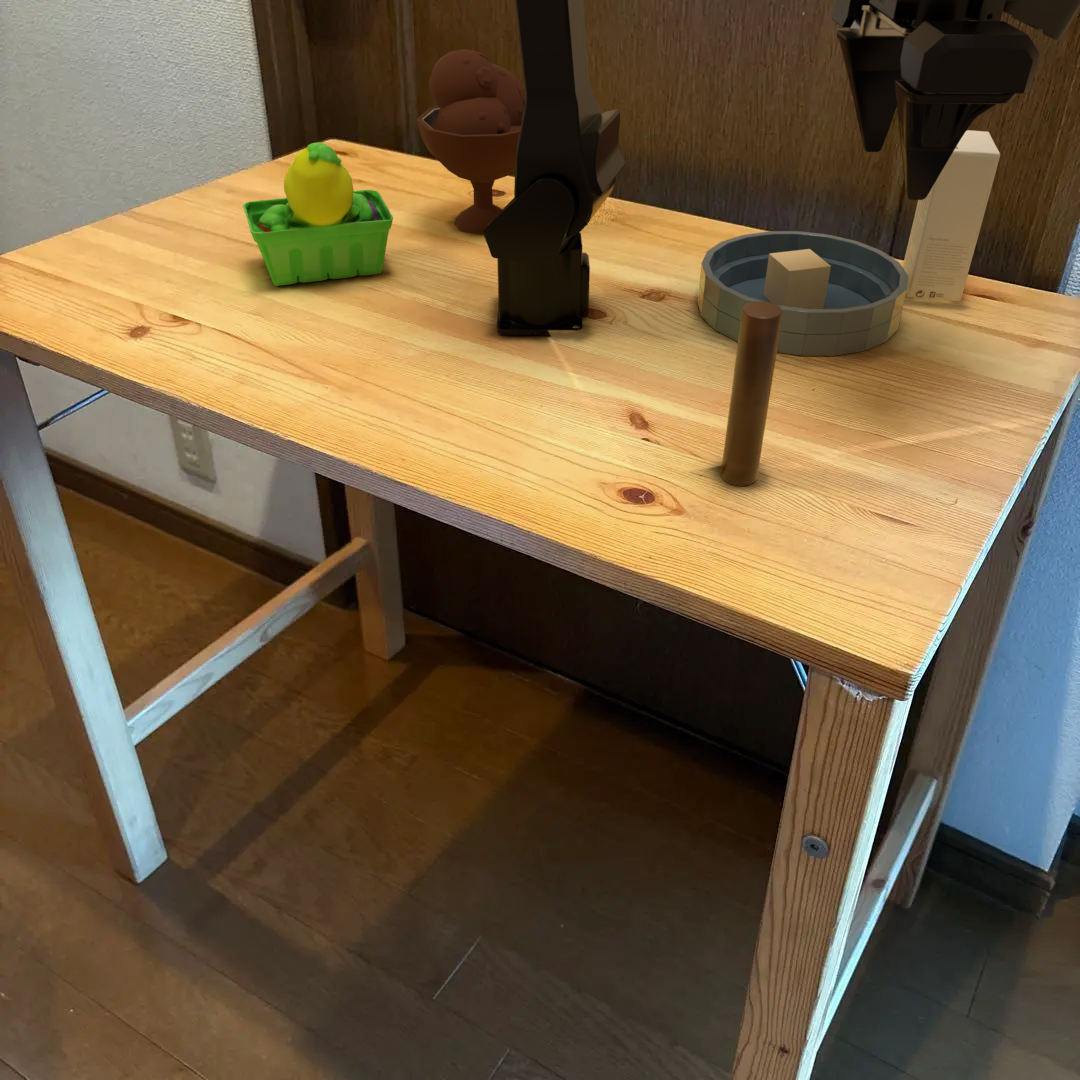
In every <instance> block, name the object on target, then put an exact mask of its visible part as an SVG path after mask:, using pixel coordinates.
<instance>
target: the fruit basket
mask: <svg viewBox="0 0 1080 1080" xmlns="http://www.w3.org/2000/svg"><path fill="white" fill-rule="evenodd" d="M283 191H284V194H285V197H281V198H274V199H273V198H272V199H260V200H252V201H251V200H250V201H247V202H245V203H243V205H242V208H243V211H244V214H245V217H246V220H247V225H248V228H249V233H250V234H251V237H252V239H253V241H254V242H255V243H256V244H257V247H258V250H259V252H260V253H261V256H262V259H263V261H264V264H265V266H266V269H267V271H268V274H269V276H270V278H271V281H272V283H273V285H274V286H276V287H279V286H288V285H294V284H298V283H311V282H322V281H325V280H329V279H330V280H337V279H346V278H347V279H348V278H353V277H357V276H372V275H379V274H381V273H382V272H383V267H384V261H385V256H386V255H385V254H386V250H387V243H388V237H389V234H390V233H389V232H390V230H391V228H392V225H393V220H394V216H393V214H392V213H391V211H390V209H389V207H388V206H387V204H386V202H385V200H384V199H383V196H382V195H381V194H380V192H379V191H378V190H373V189H361V190H359V189H358V190H354V185H353V180H352V176H351V175H350V172H349V170H348V169H347V168H346V167H345V165H343V164H342V159H341V158H340V157H338V155H337V152H336V151H335V150H334V149H333V148H332V147H331V146H330V145H327V144H325V143H323V142H312V143H310V144H308V145H307V147H305V148H304V149H302V150H300V151H299V152H298V153H297V154H296V156H295V157H294V159H293V161H292V162H291V164H290V165H289V167H288V168H287V171H286V173H285V176H284V179H283Z"/></svg>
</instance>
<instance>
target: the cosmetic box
mask: <svg viewBox="0 0 1080 1080" xmlns="http://www.w3.org/2000/svg"><path fill="white" fill-rule="evenodd" d="M1000 158H1001V153H1000V151H999V149H998V147H997V145H996V144H995V141H994V139H993V138H992V136H991V134H990V132H989V131H984V130H969V129H967V131H966V132H965V133H964V135H963V137H962V138H961V140H960V141H959V143H958V145H957V146H956V148H955V150H954V151H953V153H952V155H951V156H950V158H949V160H948V161H947V163H946V165H945V167H944V168H943V170H942V172H941V173H940V175H939V177H938V178H937V180H936V182H935V184H934V185H933V187H932V189H931V190H930V192H929V194H928V196H927V197H926V198H925V199H923V200H917V204H916V209H915V214H914V217H913V221H912V226H911V230H910V234H909V239H908V243H907V247H906V251H905V254H904V259H903V263H902V267H903V269H904V270H905V271H906V273H907V274H908V286H907V292H906V297H908V298H916V299H927V300H936V301H937V300H938V301H952V302H961V301H962V297H963V294H964V291H965V286H966V282H967V279H968V275H969V271H970V268H971V264H972V260H973V257H974V254H975V249H976V246H977V242H978V239H979V234H980V232H981V228H982V224H983V220H984V216H985V213H986V210H987V206H988V202H989V198H990V194H991V191H992V187H993V185H994V184H993V183H994V180H995V177H996V172H997V170H998V165H999V161H1000Z"/></svg>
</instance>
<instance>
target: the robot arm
mask: <svg viewBox="0 0 1080 1080" xmlns="http://www.w3.org/2000/svg"><path fill="white" fill-rule="evenodd" d="M514 5H515V14H516V23H517V25H516V26H517V33H518V34H517V35H518V41H519V42H518V43H519V51H520V61H521V69H522V77H523V78H522V79H523V86H524V89H525V107H524V112H523V118H522V123H521V128H520V133H519V139H518V144H517V149H516V163H515V171H514V186H513V187H514V188H513V198H512V199H511V200H510V201H509V202H508V203H507V204H506V205H505V206H504V207H503V208H502V209H503V210H502V211H501V212H500V213H499V214H498V215H497V216H496V217H495V218H494V219H493V220H492V221H491V222H490V223H489V224H488V225H487V226H486V227H485V229H484V230H483V234H482V235H483V237H484V239H485V242H486V245H487V247H488V248H487V249H488V250H489V253H490V256H491V257H492V258H493V259H496V260H497V262H496V263H497V264H496V265H497V316H496V333H497V334H498V335H504V336H506V335H508V336H510V335H513V336H514V335H515V336H516V335H518V336H520V335H522V336H523V335H525V336H526V335H528V336H529V335H531V336H532V335H534V336H537V335H539V336H541V335H547V336H549V335H551V333H550V332H549V331H580V330H583V328H584V325H583V324H584V323H583V318H587V317H588V316H589V308H590V307H589V305H590V303H589V301H590V277H591V276H590V273H591V267H590V258H589V257H590V256H589V254H588V253H587V252H583V241H582V233H581V232H582V231H583V230H584V229H585V227H586V226H587V225H589V223H590V222H591V220H592V219H593V218H594V216H595V215H596V213H598V211H599V209H600V208H601V207H602V206H603V204H604V203H605V202H606V200H607V199H608V198H609V196H610V195H611V193H612V191H613V190H614V187H615V184H616V181H617V176H619V175H620V173H621V171H622V170H623V169H624V167H625V166H626V163H625V159H624V158H623V156H622V153H621V149H620V148H621V147H620V144H619V139H620V138H619V137H620V128H621V127H620V126H621V111H620V109H617V108H616V109H612V110H608V111H604V112H602V110H601V108H600V106H599V104H598V101H597V99H596V97H595V94H594V92H593V90H592V87H591V82H590V72H589V71H590V70H589V57H588V46H587V31H586V29H587V28H586V18H585V5H584V0H514ZM1079 10H1080V0H834V3H833V9H832V14H831V15H832V16H831V20H832V21H833V22H834V23H836V24H837V25H838V26H839V27H840V28H837V29H836V38H837V39H838V42H839V46H840V50H841V53H842V57H843V61H844V65H845V70H846V75H847V78H848V83H849V88H850V92H851V95H852V100H853V105H854V109H855V114H856V119H857V123H858V128H859V132H860V138H861V143H862V147H863V150H864V151H865V152H867V153H880V152H881V151H882V149H883V147H884V144H885V142H886V140H887V136H888V134H889V132H890V130H891V129H890V128H891V127H892V123H893V120H894V117H895V114H896V111H897V119H898V127H899V128H898V129H899V140H900V142H899V143H900V150H901V151H900V152H901V153H900V154H901V162H902V163H901V164H902V173H903V181H904V190H905V195H906V198H907V199H908V200H910V201H918V200H923V199H925V198H926V197H927V196H928V194H929V192H930V190H931V189H932V187H933V185H934V184H935V182H936V180H937V178H938V177H939V175H940V173H941V172H942V170H943V168H944V167H945V165H946V163H947V161H948V160H949V158H950V156H951V155H952V153H953V151H954V150H955V148H956V146H957V145H958V143H959V141H960V140H961V138H962V137H963V135H964V133H965V132H966V131H967V130H969V128H970V127H971V124H972V123H973V122H974V121H975V120H976V119H977V118H978V117H979V116H981V115H982V114H984V113H985V112H987V111H988V110H990V109H992V108H993V107H994V106H997V105H1004V104H1007V103H1009V102H1011V100H1013V98H1015V96H1016V95H1017V94H1025V93H1028V92H1029V91H1031V88H1032V84H1033V81H1034V78H1035V74H1036V70H1037V67H1038V63H1039V60H1040V57H1041V53H1040V51H1039V49H1038V48H1037V46H1036V45H1035V43H1034V42H1033V39H1032V37H1030V35H1029V34H1028V33H1026V32H1024V31H1022V30H1021V29H1019V28H1018V27H1016V26H1013V25H1012V24H1010V23H1008V22H1006V21H1005V20H1002V18H1003V17H1002V16H1003V13H1005V14H1007V15H1010V16H1011V18H1012V19H1014V20H1016V21H1018V22H1020V23H1023V24H1024V25H1027V26H1028V27H1031V28H1033V29H1035V30H1036V31H1041V33H1042V35H1043V36H1045V37H1047V38H1049V39H1051V40H1053V41H1055V42H1059V41H1060V40H1061V38H1062V37H1063V36H1064V34H1065V32H1066V31H1067V29H1068V27H1069V26H1070V24H1071V22H1072V21H1073V19H1074V18H1075V16H1076V14H1077V13H1078V11H1079Z"/></svg>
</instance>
